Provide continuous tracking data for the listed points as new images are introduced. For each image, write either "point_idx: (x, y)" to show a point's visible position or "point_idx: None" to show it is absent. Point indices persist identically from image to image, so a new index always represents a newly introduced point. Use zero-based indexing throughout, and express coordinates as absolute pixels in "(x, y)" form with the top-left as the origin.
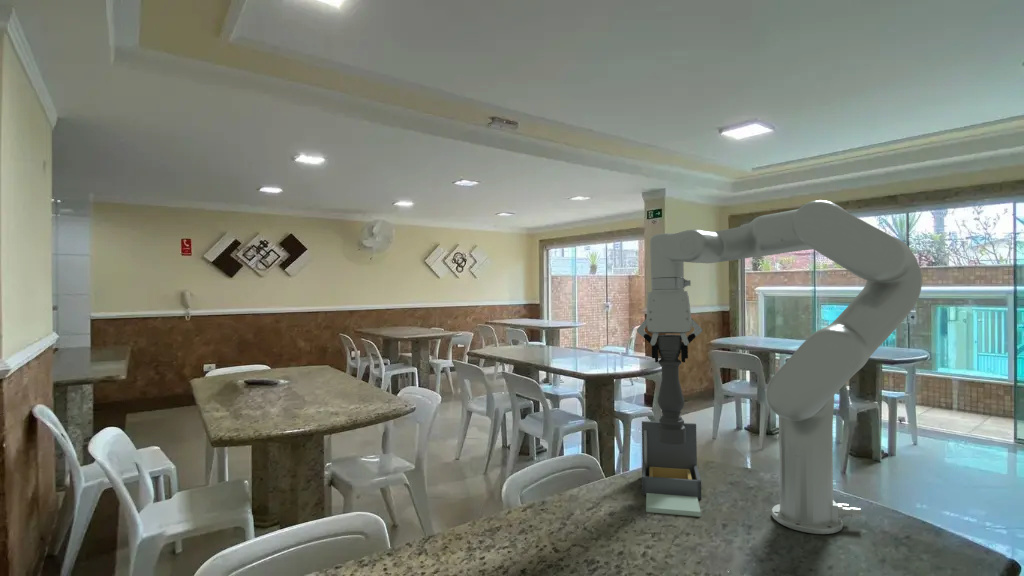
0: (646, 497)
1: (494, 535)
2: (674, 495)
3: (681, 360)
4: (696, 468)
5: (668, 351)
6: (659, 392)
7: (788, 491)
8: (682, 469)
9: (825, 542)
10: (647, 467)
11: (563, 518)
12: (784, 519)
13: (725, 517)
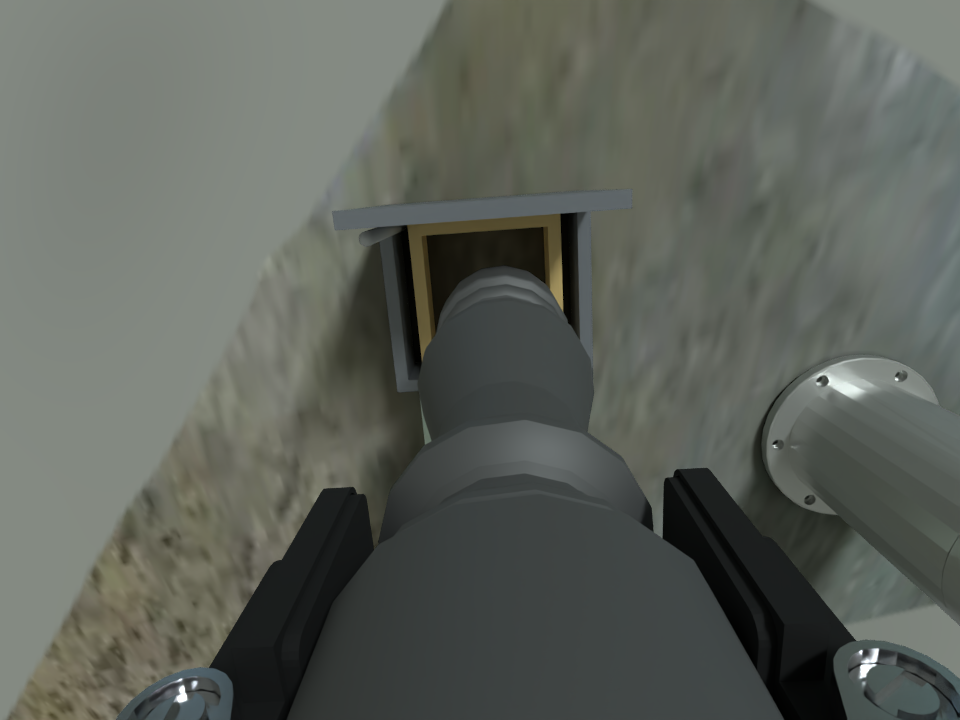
0: (424, 429)
1: (128, 681)
2: None
3: (664, 506)
4: (586, 247)
5: None
6: (425, 417)
7: (842, 517)
8: (532, 224)
9: (842, 535)
10: (401, 228)
11: (238, 574)
12: (785, 483)
13: (636, 465)
